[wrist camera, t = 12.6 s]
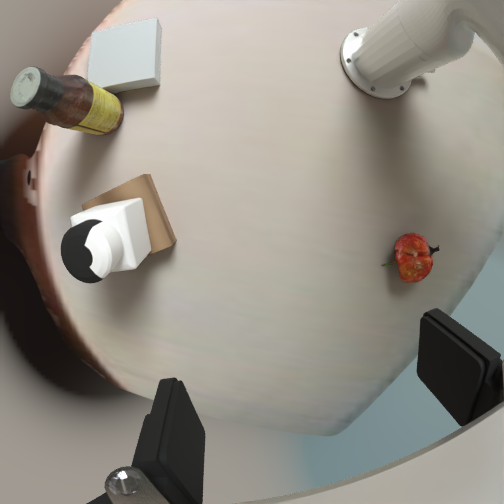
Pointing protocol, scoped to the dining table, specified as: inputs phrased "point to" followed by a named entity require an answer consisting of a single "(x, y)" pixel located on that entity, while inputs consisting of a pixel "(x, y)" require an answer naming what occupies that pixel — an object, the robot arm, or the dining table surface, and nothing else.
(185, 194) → the dining table surface
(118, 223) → the medicine bottle
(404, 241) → the pomegranate
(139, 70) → the grey block
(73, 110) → the sauce bottle
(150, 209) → the walnut block
